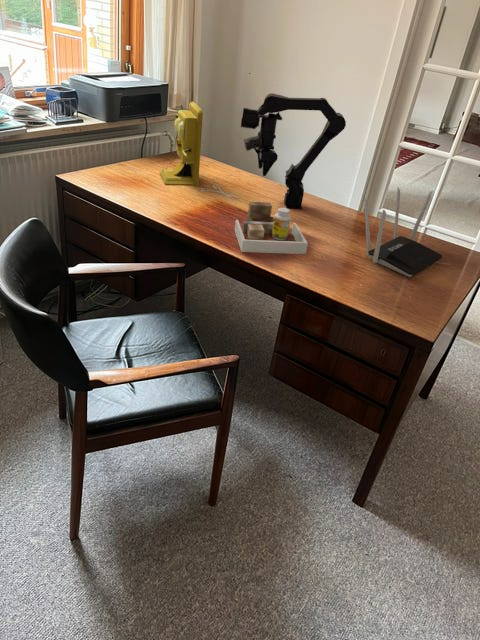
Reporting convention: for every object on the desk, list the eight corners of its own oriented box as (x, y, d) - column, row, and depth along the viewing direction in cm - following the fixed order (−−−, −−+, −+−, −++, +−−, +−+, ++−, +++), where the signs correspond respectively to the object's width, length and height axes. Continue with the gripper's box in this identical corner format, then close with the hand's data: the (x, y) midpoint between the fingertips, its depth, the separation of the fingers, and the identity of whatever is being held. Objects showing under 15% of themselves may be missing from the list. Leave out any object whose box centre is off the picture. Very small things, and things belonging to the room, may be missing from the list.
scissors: (212, 183, 206) (249, 196, 196) (212, 185, 206) (249, 198, 197) (196, 188, 199) (233, 202, 189) (196, 190, 199) (233, 204, 190)
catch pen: (293, 232, 172) (295, 222, 169) (305, 254, 158) (307, 243, 156) (234, 230, 168) (235, 219, 165) (241, 251, 154) (242, 240, 152)
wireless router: (403, 285, 147) (424, 225, 136) (341, 256, 159) (355, 199, 148) (447, 257, 169) (468, 203, 158) (390, 234, 181) (406, 182, 170)
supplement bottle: (268, 234, 168) (273, 206, 162) (283, 233, 170) (287, 206, 164) (275, 241, 164) (279, 213, 158) (289, 240, 166) (294, 212, 160)
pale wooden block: (260, 233, 168) (261, 224, 166) (263, 239, 164) (264, 230, 162) (246, 233, 167) (247, 223, 165) (249, 239, 163) (250, 229, 161)
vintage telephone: (155, 166, 217) (156, 95, 201) (185, 167, 222) (188, 97, 205) (167, 190, 193) (169, 112, 176) (201, 190, 197) (206, 114, 181)
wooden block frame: (278, 217, 182) (280, 203, 179) (287, 234, 170) (290, 219, 167) (237, 215, 180) (238, 200, 176) (243, 232, 167) (245, 217, 164)
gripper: (243, 123, 185) (238, 163, 194) (250, 135, 170) (245, 178, 179) (270, 125, 187) (265, 165, 196) (280, 137, 172) (274, 180, 181)
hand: (262, 172), depth 188 cm, fingers open, 9 cm apart
